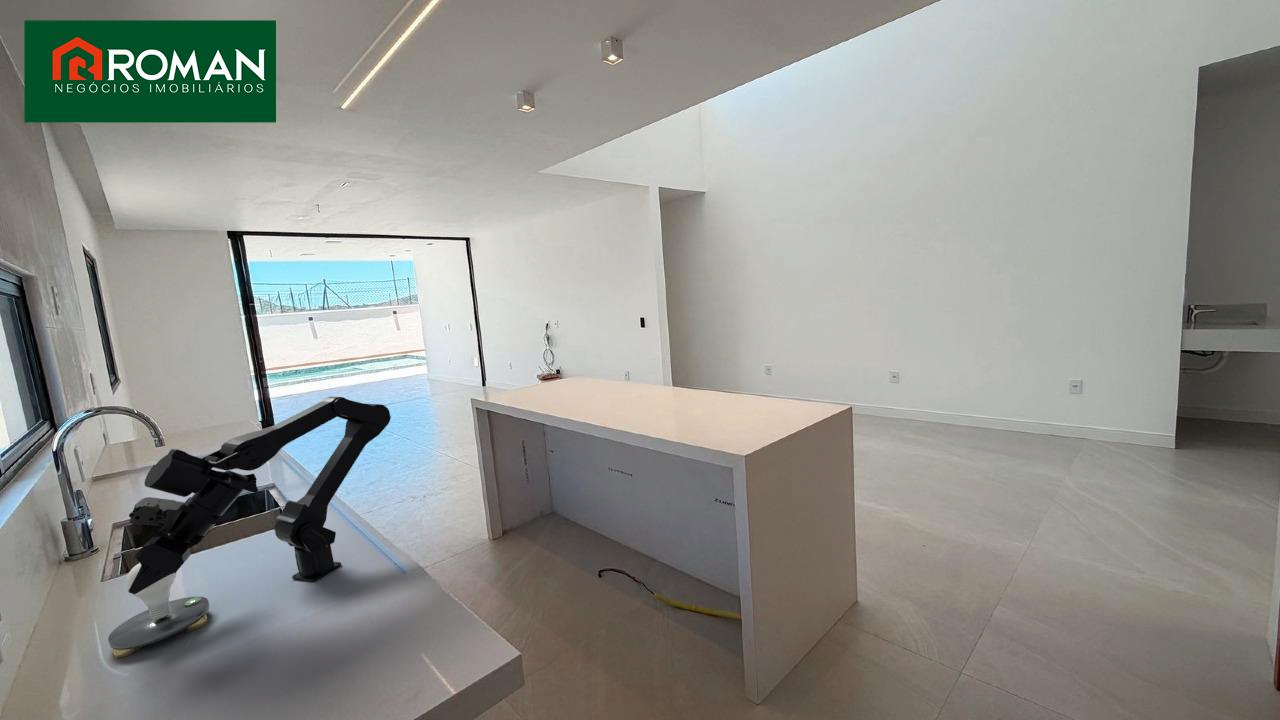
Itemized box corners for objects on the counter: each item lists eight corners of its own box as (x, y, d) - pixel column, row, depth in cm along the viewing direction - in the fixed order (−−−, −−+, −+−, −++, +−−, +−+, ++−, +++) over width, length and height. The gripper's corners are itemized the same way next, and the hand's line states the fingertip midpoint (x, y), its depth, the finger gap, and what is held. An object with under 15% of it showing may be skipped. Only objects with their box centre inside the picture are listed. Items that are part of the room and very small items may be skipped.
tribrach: (228, 613, 94) (225, 600, 94) (140, 663, 82) (137, 649, 81) (182, 605, 98) (179, 592, 98) (92, 652, 86) (89, 638, 85)
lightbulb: (194, 608, 92) (180, 551, 90) (151, 632, 86) (135, 571, 84) (172, 605, 94) (157, 549, 92) (129, 627, 88) (112, 568, 86)
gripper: (181, 466, 96) (117, 537, 93) (138, 497, 80) (58, 586, 77) (240, 494, 101) (181, 564, 98) (211, 530, 84) (139, 615, 81)
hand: (143, 579), depth 88 cm, fingers open, 9 cm apart
